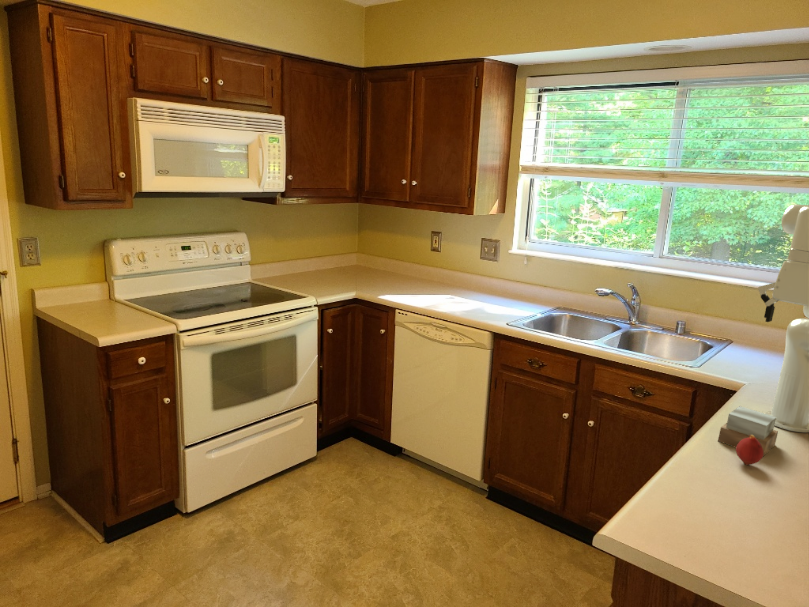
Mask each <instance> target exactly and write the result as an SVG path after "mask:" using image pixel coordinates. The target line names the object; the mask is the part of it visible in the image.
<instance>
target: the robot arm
mask: <svg viewBox="0 0 809 607" xmlns="http://www.w3.org/2000/svg"><path fill="white" fill-rule="evenodd" d="M781 228H782V230H783V232H785V233H786V234H788V235H792V239H791V240H792V241H791V243H790V244H791V245H790V248H789V252H788V257H787V260H784V261H783V262H782V265H781V267H780V269H779V272H778V274H777V278H776V281H775V282H771V283H769V284H764V285H760V286H758V292H759V295H760V298H761V300H762V302H763V303H764V304H765V306H766V308H765V311H764V316H763V318H764V319H765V323H770V322H772V321H773V316H774V314H775V309H776V308H775V307H776V306H775V304H776V303H777V302H778V301H780V302H785V303H787V304H788V303H789V304H794V305H800V306H803V307H802V308H803V309H802V312H803V314H804V316H805V318H795V319H793V320H792V321H790V322H789V324H788V325H787V327H786V332H785V348H784V355H783V359H782V360H783V361H782V363H781V364H782V365H781V369H780V373H779V378H778V382H777V386H776V391H775V393H774V394H775V395H774V398H773V403H772V408H771V411H767V412H765V413H764V414H768V415H771V416H774V417H776V420H775V424H774V427H778V428H780V429H783V430H786V431H791V432H796V433H809V204H791V205H790V206H788V207H787V208H786V209H785V211H784V212H783V214H782V217H781ZM771 289H773V291H772V298H770V297H769V295H768V294H767V290H771Z"/></svg>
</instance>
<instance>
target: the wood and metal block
mask: <svg viewBox="0 0 809 607" xmlns="http://www.w3.org/2000/svg"><path fill="white" fill-rule="evenodd" d="M775 420H776V417H774V416H771V415H768V414H765V413H763V412H761V411H757V410H754V409H752V408H748V407H745V406H741V405H739V406H738V407H736V408H735V409H733V410H732V411H731V412H729V413H728V417H727V422H726V423H724V424H723V425H721V427H720V430H719V433H718V438H717V439H718V440H717V442H719V441H721V442H720V443H722V442H724V443H723V444H725V443H726V444H725V445H728V444H729V445H728V446H730V445H732V446H731V447H733V446H735V447H734V448H736V447H737V444H738V443H739V442H740V441H741V440H742V439H744V438H749V437H750V436H749V435H754V437H755V438H756V439H757V440H758V441H759V442H760V444H761V445H762V448H763V457H764V456H766V454H768V453H769V451H771V450H772V448H774V447H775V445H776V441H777V438H778V434H779V433H778V432H779V431H778V430H775V428H774V427H775V425H774V424H775ZM763 457H762V458H763Z"/></svg>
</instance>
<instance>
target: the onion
mask: <svg viewBox="0 0 809 607" xmlns="http://www.w3.org/2000/svg"><path fill="white" fill-rule="evenodd" d="M749 436H750V437H749V438H744V439H742V440H741V441H740V442H739V443H738V444H737V447H735V452H736V456H737V457H738V459H740V460H741V462H742V463H743V464H744V465H746V466H750V465H754V464H757V463H759V462H760V461H761V460H762V459H763V448H762V445H761V444H760V442H759V441H758V440H757V439H756V438H755V437H754V435H749Z"/></svg>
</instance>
